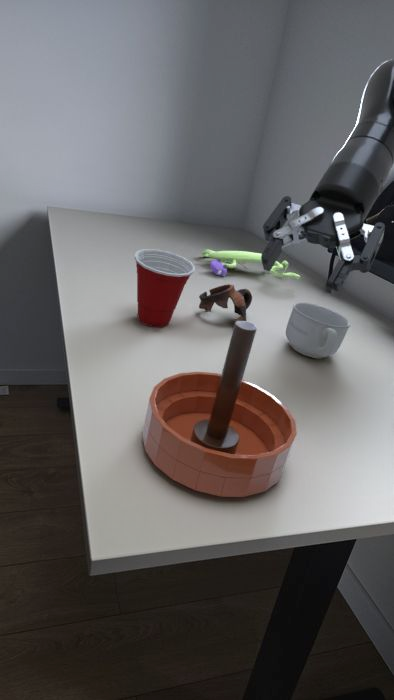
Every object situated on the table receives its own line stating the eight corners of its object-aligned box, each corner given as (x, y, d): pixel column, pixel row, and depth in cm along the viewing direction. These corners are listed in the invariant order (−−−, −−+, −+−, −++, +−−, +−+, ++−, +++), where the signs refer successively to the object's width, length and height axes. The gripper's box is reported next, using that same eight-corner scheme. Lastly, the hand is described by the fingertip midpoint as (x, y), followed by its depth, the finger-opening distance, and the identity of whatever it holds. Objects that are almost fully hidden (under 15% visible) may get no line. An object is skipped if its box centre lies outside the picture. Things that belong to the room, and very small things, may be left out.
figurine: (296, 296, 123) (302, 275, 121) (192, 270, 124) (197, 249, 122) (294, 276, 140) (300, 257, 137) (203, 254, 141) (207, 234, 139)
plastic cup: (140, 336, 84) (152, 269, 79) (115, 310, 92) (124, 247, 87) (193, 332, 90) (207, 270, 85) (165, 308, 98) (177, 250, 93)
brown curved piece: (231, 337, 93) (218, 296, 90) (197, 338, 100) (184, 299, 97) (269, 313, 100) (258, 274, 98) (235, 315, 107) (224, 279, 105)
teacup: (280, 333, 99) (292, 296, 95) (333, 346, 98) (347, 309, 95) (282, 363, 86) (295, 322, 83) (342, 378, 86) (358, 337, 82)
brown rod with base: (220, 428, 63) (251, 313, 56) (244, 455, 59) (282, 336, 52) (182, 434, 60) (210, 314, 53) (205, 464, 56) (239, 338, 49)
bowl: (232, 403, 71) (242, 367, 68) (310, 484, 58) (326, 443, 55) (120, 419, 62) (127, 378, 59) (184, 518, 49) (196, 471, 46)
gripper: (301, 148, 65) (241, 242, 60) (410, 174, 59) (353, 279, 54) (304, 189, 71) (249, 276, 67) (402, 216, 65) (350, 313, 61)
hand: (296, 278), depth 61 cm, fingers open, 8 cm apart
